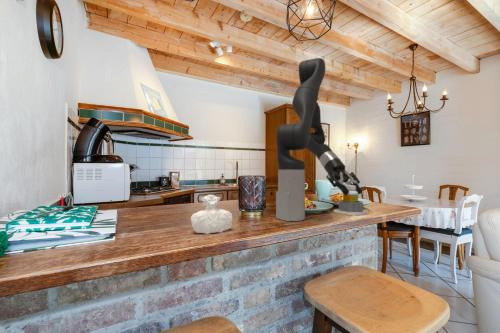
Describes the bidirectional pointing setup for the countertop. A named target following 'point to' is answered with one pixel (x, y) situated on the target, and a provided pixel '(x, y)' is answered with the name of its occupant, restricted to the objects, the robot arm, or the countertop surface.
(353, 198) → the beer glass
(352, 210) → the grey low cylinder
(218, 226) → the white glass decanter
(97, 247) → the countertop surface
